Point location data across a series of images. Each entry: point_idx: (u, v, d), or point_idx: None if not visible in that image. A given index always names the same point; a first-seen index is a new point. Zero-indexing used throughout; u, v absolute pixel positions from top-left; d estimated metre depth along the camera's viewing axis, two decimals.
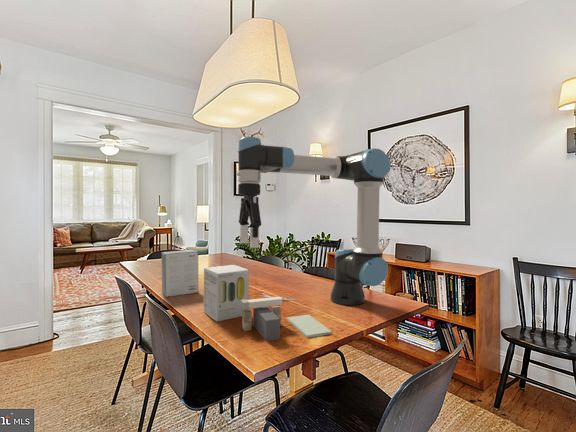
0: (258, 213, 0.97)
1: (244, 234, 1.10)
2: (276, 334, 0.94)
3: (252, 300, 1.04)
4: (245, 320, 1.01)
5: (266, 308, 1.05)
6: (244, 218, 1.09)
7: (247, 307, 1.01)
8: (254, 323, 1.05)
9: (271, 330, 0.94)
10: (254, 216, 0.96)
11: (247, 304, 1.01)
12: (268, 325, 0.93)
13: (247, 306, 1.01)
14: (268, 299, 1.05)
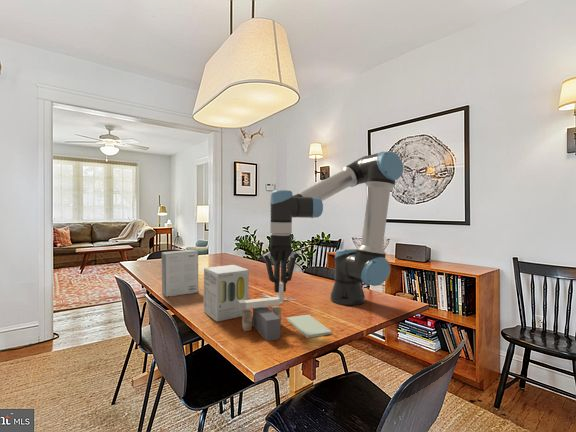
0: (269, 271, 1.04)
1: None
2: (276, 334, 0.95)
3: (249, 300, 1.03)
4: (245, 320, 1.01)
5: (266, 308, 1.05)
6: (282, 272, 1.07)
7: (244, 307, 1.00)
8: (254, 323, 1.05)
9: (272, 330, 0.94)
10: (268, 273, 1.06)
11: (244, 304, 1.00)
12: (269, 325, 0.93)
13: (244, 306, 1.00)
14: (265, 299, 1.05)
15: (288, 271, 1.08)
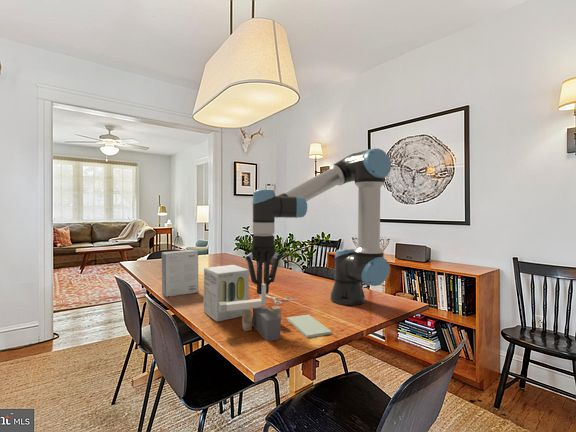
0: (251, 272, 1.02)
1: None
2: (276, 334, 0.95)
3: (230, 302, 1.01)
4: (245, 320, 1.01)
5: (266, 308, 1.05)
6: (264, 274, 1.05)
7: (224, 310, 0.98)
8: (253, 323, 1.05)
9: (272, 330, 0.94)
10: (250, 275, 1.03)
11: (224, 307, 0.98)
12: (269, 324, 0.93)
13: (224, 309, 0.98)
14: (247, 301, 1.02)
15: (271, 272, 1.06)
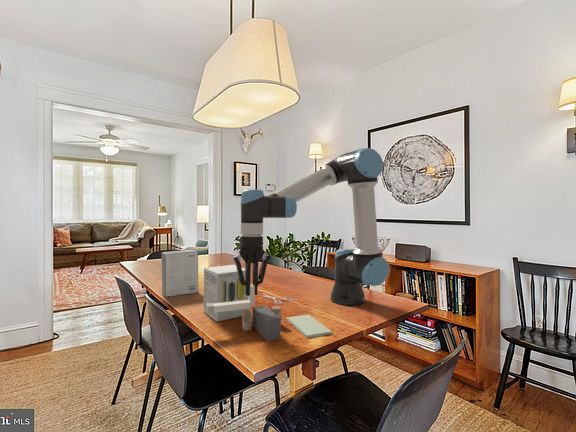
0: (239, 274, 1.00)
1: None
2: (276, 334, 0.95)
3: (218, 304, 0.99)
4: (245, 320, 1.01)
5: (265, 308, 1.05)
6: (253, 275, 1.03)
7: (212, 311, 0.96)
8: (253, 323, 1.05)
9: (272, 330, 0.94)
10: None
11: (212, 308, 0.96)
12: (269, 325, 0.93)
13: (212, 310, 0.96)
14: (235, 303, 1.01)
15: (260, 273, 1.04)
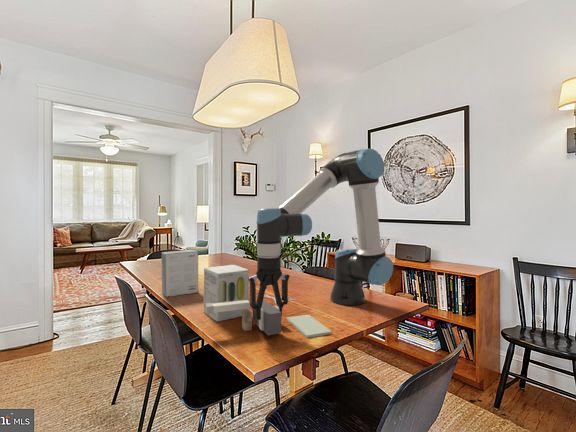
0: (251, 296, 0.95)
1: None
2: (277, 328, 0.95)
3: (217, 304, 0.99)
4: (245, 320, 1.01)
5: (265, 302, 1.05)
6: (275, 296, 0.99)
7: (211, 311, 0.96)
8: (254, 318, 1.05)
9: (273, 324, 0.94)
10: (250, 298, 0.96)
11: (211, 308, 0.96)
12: (270, 318, 0.94)
13: (211, 310, 0.96)
14: (234, 303, 1.00)
15: (283, 294, 1.00)
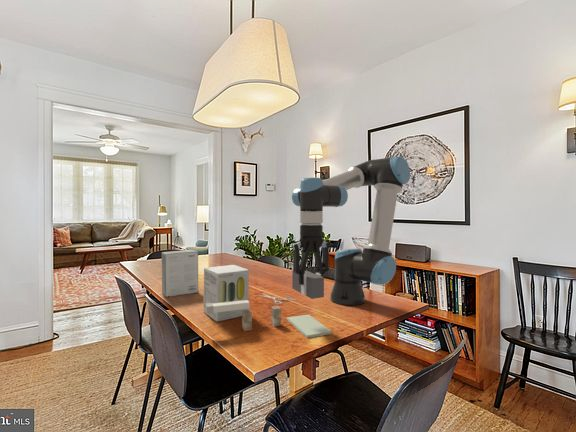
0: (295, 261, 0.99)
1: None
2: (320, 292, 0.99)
3: (217, 304, 0.99)
4: (245, 320, 1.01)
5: (305, 271, 1.09)
6: (317, 263, 1.03)
7: (211, 311, 0.96)
8: (294, 286, 1.09)
9: (316, 288, 0.98)
10: (293, 264, 1.00)
11: (211, 308, 0.96)
12: (313, 283, 0.97)
13: (211, 310, 0.96)
14: (234, 303, 1.00)
15: (323, 262, 1.04)
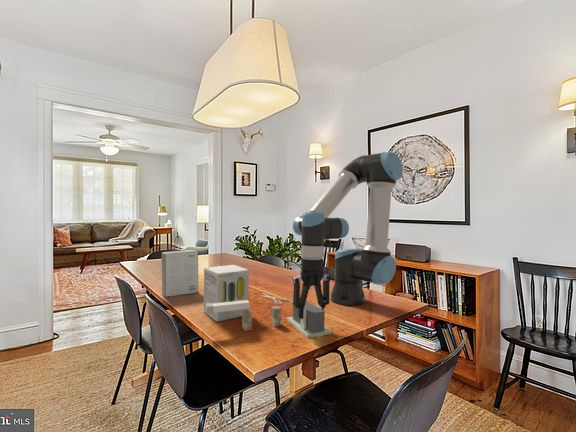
0: (295, 295, 0.99)
1: None
2: (321, 326, 0.99)
3: (217, 304, 0.99)
4: (245, 320, 1.01)
5: (306, 302, 1.09)
6: (318, 297, 1.03)
7: (211, 311, 0.96)
8: (294, 317, 1.09)
9: (317, 322, 0.98)
10: (293, 297, 1.00)
11: (211, 308, 0.96)
12: (314, 317, 0.98)
13: (211, 310, 0.96)
14: (234, 303, 1.00)
15: (324, 295, 1.04)
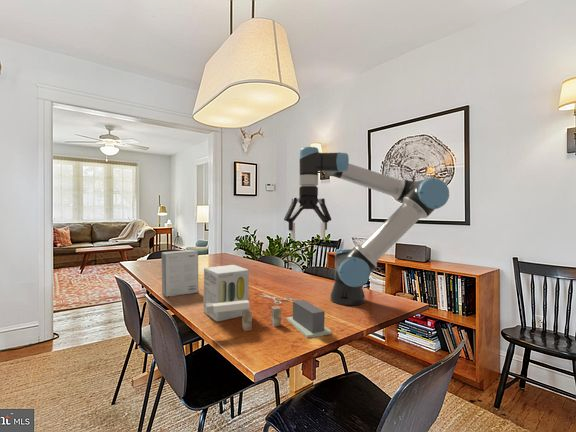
0: (289, 211, 1.19)
1: (321, 230, 1.26)
2: (321, 326, 0.99)
3: (217, 304, 0.99)
4: (245, 320, 1.01)
5: (306, 302, 1.09)
6: (320, 216, 1.25)
7: (211, 311, 0.96)
8: (294, 317, 1.09)
9: (317, 322, 0.98)
10: (287, 213, 1.20)
11: (211, 308, 0.96)
12: (314, 317, 0.98)
13: (211, 310, 0.96)
14: (234, 303, 1.00)
15: (325, 214, 1.26)
